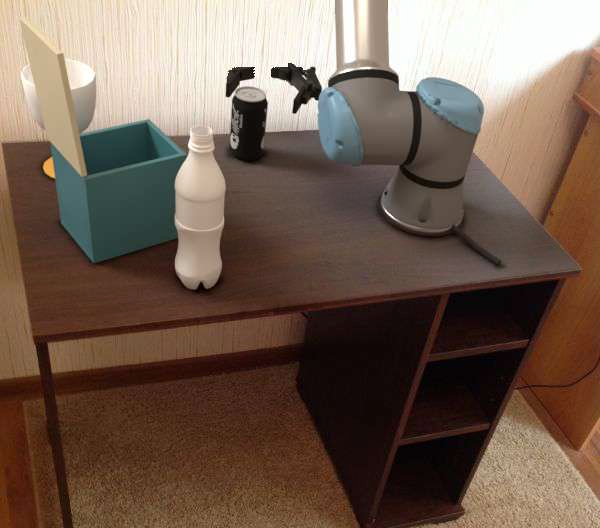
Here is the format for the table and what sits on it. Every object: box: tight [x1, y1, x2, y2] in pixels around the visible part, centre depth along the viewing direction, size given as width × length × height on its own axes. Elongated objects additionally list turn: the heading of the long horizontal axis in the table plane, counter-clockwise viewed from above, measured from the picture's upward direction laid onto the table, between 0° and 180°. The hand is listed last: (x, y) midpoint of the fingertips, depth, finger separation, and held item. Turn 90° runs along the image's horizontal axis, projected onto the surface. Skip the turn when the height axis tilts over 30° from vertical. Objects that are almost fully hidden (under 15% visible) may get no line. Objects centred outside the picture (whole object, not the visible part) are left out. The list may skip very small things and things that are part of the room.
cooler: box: [49, 118, 188, 264], centre depth 119 cm, size 17×12×15 cm
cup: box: [20, 58, 97, 180], centre depth 129 cm, size 12×12×17 cm
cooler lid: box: [18, 15, 87, 177], centre depth 103 cm, size 18×12×1 cm
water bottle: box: [174, 124, 227, 290], centre depth 109 cm, size 7×7×25 cm
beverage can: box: [228, 85, 269, 162], centre depth 141 cm, size 7×7×12 cm
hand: (261, 98), depth 145 cm, fingers open, 13 cm apart
